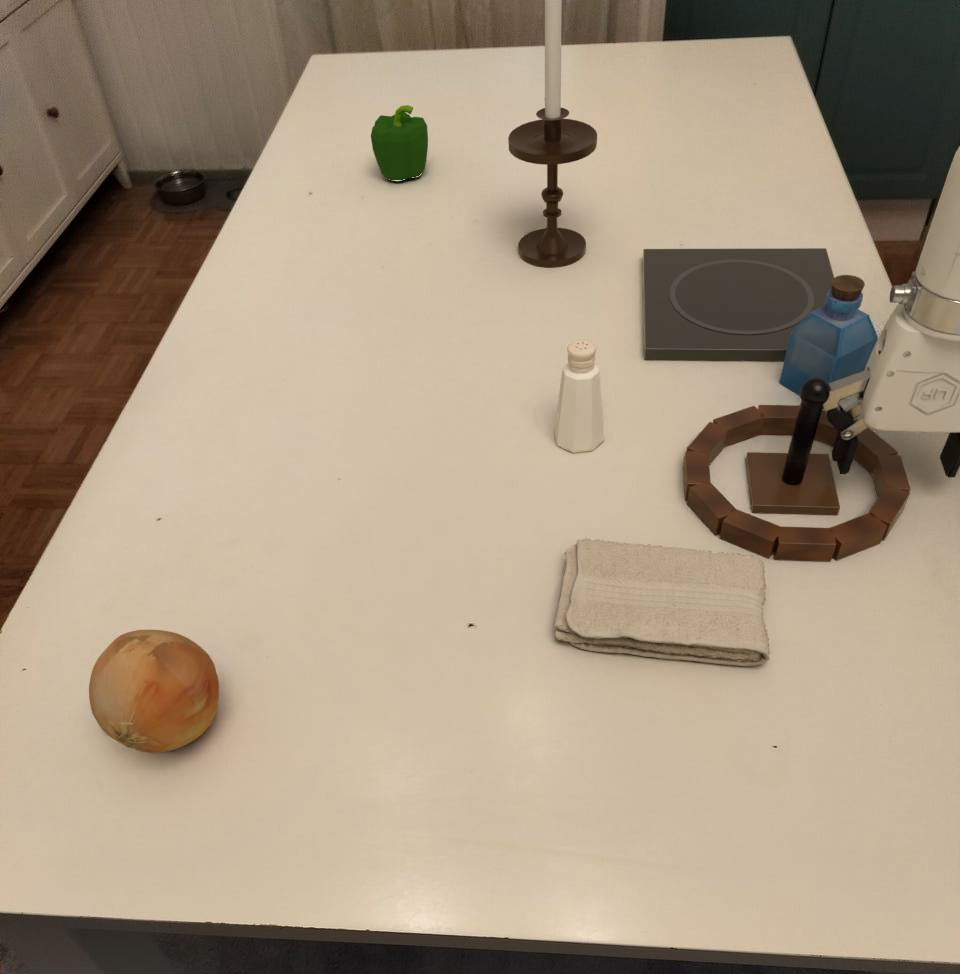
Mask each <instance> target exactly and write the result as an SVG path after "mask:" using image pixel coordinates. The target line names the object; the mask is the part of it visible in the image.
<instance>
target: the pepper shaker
mask: <svg viewBox="0 0 960 974" xmlns="http://www.w3.org/2000/svg"><path fill="white" fill-rule="evenodd" d="M566 351H567V363H566V364H565V365H563V366H562V370H561V375H560V376H561V377H560V384H559V390H558V392H559V394H558V400H557V406H556V416H555V423H554V431H553V435H554V439H555V443H556V446H557V447H559V448H561V449H562V450H565V451H567V452H570V453H572V454H578V453H589V452H593V451H594V450H595V449H597V448H598V446H600V445H601V444H602V443H604V441H605V432H604V431H605V430H604V416H603V401H602V387H601V386H602V385H601V375H600V369H599V366H598V363H597V362H595V361H596V353H597V346H596V344H595V343H594V342H593V341H592V340H589V339H582V338H581V339H576V340H573V341H571V342H570V343H569V344H568V345H567V347H566Z"/></svg>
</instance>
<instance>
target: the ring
mask: <svg viewBox="0 0 960 974" xmlns="http://www.w3.org/2000/svg"><path fill="white" fill-rule="evenodd" d="M799 407H800V404H798V405H794V404H793V405H792V404H791V405H790V404H758V407H756V406H755V405H752V406H749V407H746V408H743V409H740V410H737V411H734V412H731V413H728V414H725V415H723V416H719V417H716V418H714V419H712V421H709V422H707V424H706V425H705V426H704V427H703V428H702V430H701V431H700V432H699V434H697V435H696V436H695V438H694V439H693V440H692V441H691V443H689V444H688V446H687V447H686V450H685V453H684V460H683V466H682V471H683V486H684V487H683V489H684V501H687V502H686V504H687V507H689V508H690V509H691V510H692V512H694V514H695V515H696V516H697V517H698V518H699V520H701V521H702V522H703V524H705V526H706V527H707V528H708V529H709V530H710V531H711V532H712V533H713V535H714V536H717V535H719V540H722V541H725V542H728V543H730V544H732V545H734V546H737V547H739V548H742V549H745V550H747V551H750V552H752V553H754V554H757V555H758V556H762V557H764V558H766V559H771V557H772V556H773V557H774V561H801V562H802V561H803V562H827V563H830V562H831V561H832V559H834V560H835V561H839V560H841V559H845V558H847V557H849V556H851V555H854V554H856V553H860V552H862V551H864V550H867V549H869V548H872V547H874V546H877V545H880V544H881V543H882V541H885V540H886V538H887V537H888V535H889V534H890V533H891V530H892V529H893V527H894V525H895V524H896V522H897V521H898V520H899V517H900V516H901V515H902V513H903V511H904V509H905V507H906V505H907V502H908V499H909V498H910V497H909V496H910V494H911V493H910V491H911V486H910V482H909V479H908V476H907V472H906V469H905V466H904V462H903V458H902V456H901V455H900V454H899V451H898V450H896V449H895V448H894V447H893V446H892V445H890V444H889V443H888V442H887V441H886V440H885V439H884V438H882V437H881V436H880V435H878V434H877V432H875V431H873V429H871V428H866V429H865V430H864V431H862V432H861V433H859V434H858V435H857V438H858V446H857V449H856V452H855V455H854V458H853V460H855V461H856V462H857V463H858V464H860V465H861V466H862V467H863V468H864V469H865V470H866V471H867V472H868V473H870V474H871V476H872V480H873V483H874V488H875V491H876V496H877V498H876V500H875V502H874V504H873V505H872V506H871V508H870V509H869V511H868V512H867V513H865V514H862V515H859V516H857V517H853V518H852V519H849V520H846V521H844V522H841V523H839V524H836V525H833V526H831V527H815V526H814V527H813V526H811V527H809V526H780V525H778V524H776V523H773V522H771V521H768V520H765V519H763V518H760V517H758V516H755V515H752V514H750V513H747V512H745V511H743V510H740V509H737V508H736V507H735V506H734V505H733V504H732V503H731V502H730V501H729V500H728V499H727V498H726V497H725V496H724V494H722V493H721V491H719V489H717V487H716V486H715V485H714V484H713V483H712V482H711V470H710V465H711V464H712V463H713V461H714V460H715V459H716V458H717V457H718V455H720V453H721V452H722V451H723V450H724V449H725V448H726V447H729V446H732V445H735V444H738V443H740V442H743V441H746V440H748V439H751V438H755V437H758V436H762V435H765V436H792V435H793V431H794V427H795V423H796V419H797V415H798V411H799ZM837 432H838V431H837V430H836V429H835V428H834V426H833V425H832V424H831V423H830V422H829V421H828V419H827V416H826V413H825V410H824V409H823V410H822V413H821V417H820V420H819V424H818V428H817V431H816V435H815V438H814V441H818V442H821V443H824V444H827V445H830V446H832V447H833V445H834V442H835V439H836V435H837ZM898 454H899V455H898Z"/></svg>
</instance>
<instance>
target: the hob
mask: <svg viewBox="0 0 960 974" xmlns="http://www.w3.org/2000/svg"><path fill="white" fill-rule="evenodd" d="M833 278H835V276H834V271H833V269H832V264H831V260H830V257H829V253H828V249H827V248H825V247H824V248H819V247H818V248H815V247H814V248H808V247H807V248H806V247H805V248H803V247H802V248H801V247H800V248H796V247H795V248H643V251H642V302H643V303H642V304H643V305H642V306H643V350H644V351H643V356H644V359H643V360H644V361H706V362H707V361H713V362H718V361H721V362H723V361H724V362H725V361H726V362H784V360H785V356H786V351H787V347H788V343H789V338H790V334H791V332H792V331H793V330H794V329H795V328H796V327H797V326H798V325H799V324H800V323H801V322H802V321H803V320H804V319H805V318H806V317H807V316H808V315H809V314H810V313H811V312H812V311H815V310H817V309H819V308H821V307H823V306H825V305H826V303H825V300H826V296H827V292H828V290H829V289H830V288H832V280H833Z"/></svg>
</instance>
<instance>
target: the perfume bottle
mask: <svg viewBox="0 0 960 974" xmlns="http://www.w3.org/2000/svg"><path fill="white" fill-rule="evenodd" d="M865 286H866V283H865V281H864V280H863V279H862V278H860V277H858V276H856V275H852V274H840V275H837V276H834V278H833V280H832V288H830V289H829V290H828V292H827V296H826V300H825V303H826V305H825V306H823V307H821V308H819V309H817V310H815V311H812V312H811V313H810V314H809V315H808V316H807V317H806V318H805V319H804V320H803V321H802V322H801V323H800V324H799V325H798V326H797V327H796V328H795V329H794V330H793V331H792V332H791V334H790V338H789V343H788V347H787V351H786V356H785V360H784V361H783V365H782V368H781V369H782V370H781V374H780V378H779V382H778V383H779V384H780V385H781V386H783V387H785V388H786V389H788V390H790V391H791V392H793V393H795V394H796V395H797V396H799V397H800V389H801V387H802V385H803V384H804V383H805V382H806V381H807V380H808V379H810V378H813V377H820V378H823V379H825V380H826V381H827V382H828V383H832V382H834V381H837V380H840V379H842V378H845V377H848V376H851V375H853V374H856V373H859V372H862V371H864V370H865V367H866V365H867V362H868V360H869V357H870V355H871V353H872V350H873V348H874V346H875V344H876V342H877V339H878V337H879V335H878V333H877V332H876V328H875V326H874V323H873V322H872V319H871V316H870V314H868V313H867V312H864V311H863V310H861V309H860V307H861V306H862V302H863V298H864V294H863V289H864V288H865ZM823 410H824V407H823Z"/></svg>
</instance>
